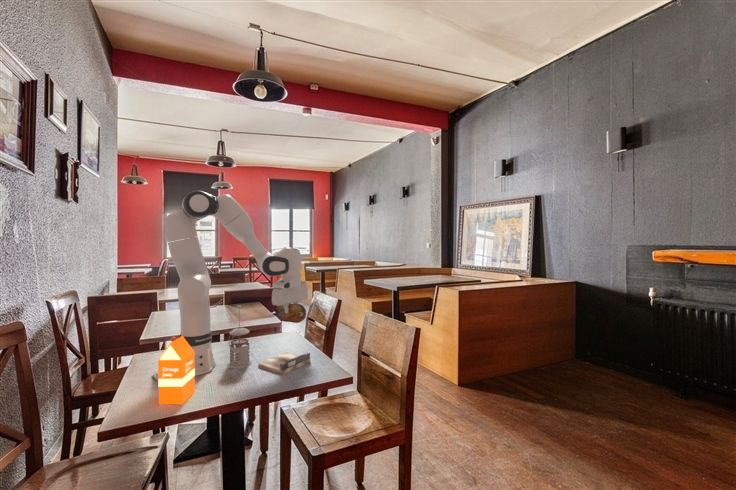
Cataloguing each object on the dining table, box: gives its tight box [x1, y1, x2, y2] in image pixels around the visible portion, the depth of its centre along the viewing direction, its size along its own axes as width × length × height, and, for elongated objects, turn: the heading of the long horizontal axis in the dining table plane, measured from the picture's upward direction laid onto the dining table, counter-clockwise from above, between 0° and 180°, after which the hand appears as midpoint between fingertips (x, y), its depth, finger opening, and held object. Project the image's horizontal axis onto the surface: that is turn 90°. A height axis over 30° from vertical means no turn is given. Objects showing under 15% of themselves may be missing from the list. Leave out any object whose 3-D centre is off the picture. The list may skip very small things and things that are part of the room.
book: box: [257, 351, 311, 375], centre depth 148 cm, size 16×14×2 cm
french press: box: [227, 304, 253, 370], centre depth 148 cm, size 10×12×25 cm
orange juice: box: [157, 336, 196, 405], centre depth 118 cm, size 8×9×20 cm
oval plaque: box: [275, 303, 307, 324], centre depth 163 cm, size 15×3×8 cm, turn 69°
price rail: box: [280, 352, 311, 371], centre depth 145 cm, size 16×1×2 cm, turn 147°
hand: (290, 312), depth 163 cm, fingers closed on oval plaque, 3 cm apart
